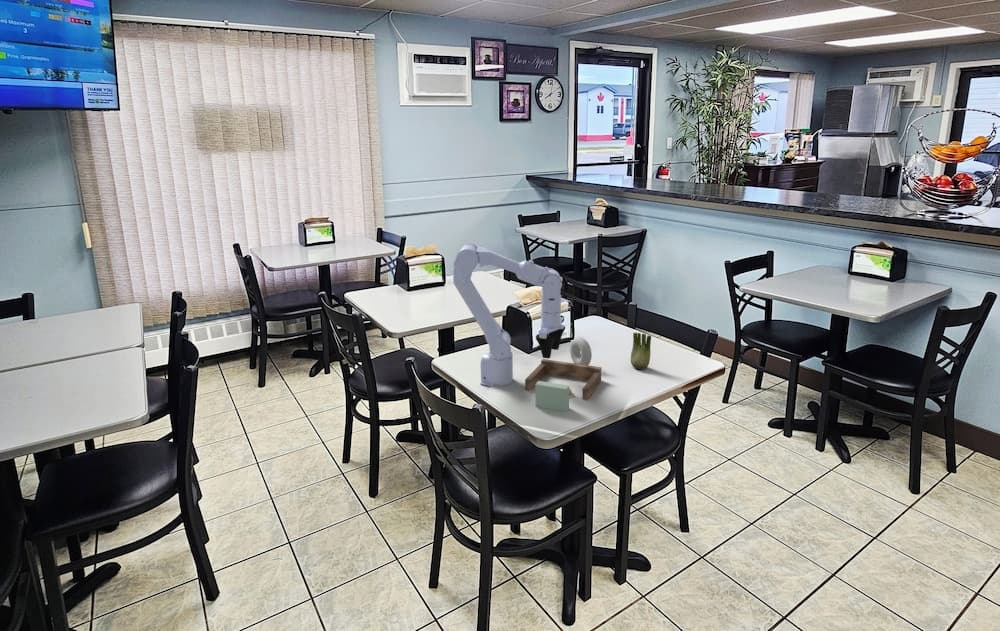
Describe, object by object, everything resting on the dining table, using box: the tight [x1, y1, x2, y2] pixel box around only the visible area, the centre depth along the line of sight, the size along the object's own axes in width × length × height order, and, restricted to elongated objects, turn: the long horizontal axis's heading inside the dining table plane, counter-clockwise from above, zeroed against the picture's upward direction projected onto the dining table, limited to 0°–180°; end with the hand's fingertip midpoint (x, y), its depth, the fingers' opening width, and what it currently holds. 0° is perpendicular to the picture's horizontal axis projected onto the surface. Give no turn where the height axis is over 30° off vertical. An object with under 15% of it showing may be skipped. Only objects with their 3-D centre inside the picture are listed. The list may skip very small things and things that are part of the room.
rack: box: [524, 358, 603, 401], centre depth 178 cm, size 19×15×5 cm
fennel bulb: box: [630, 332, 652, 370], centre depth 189 cm, size 6×5×12 cm
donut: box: [569, 336, 593, 366], centre depth 192 cm, size 10×4×10 cm, turn 25°
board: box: [534, 380, 570, 412], centre depth 163 cm, size 9×2×7 cm, turn 66°
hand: (550, 353), depth 179 cm, fingers open, 7 cm apart
